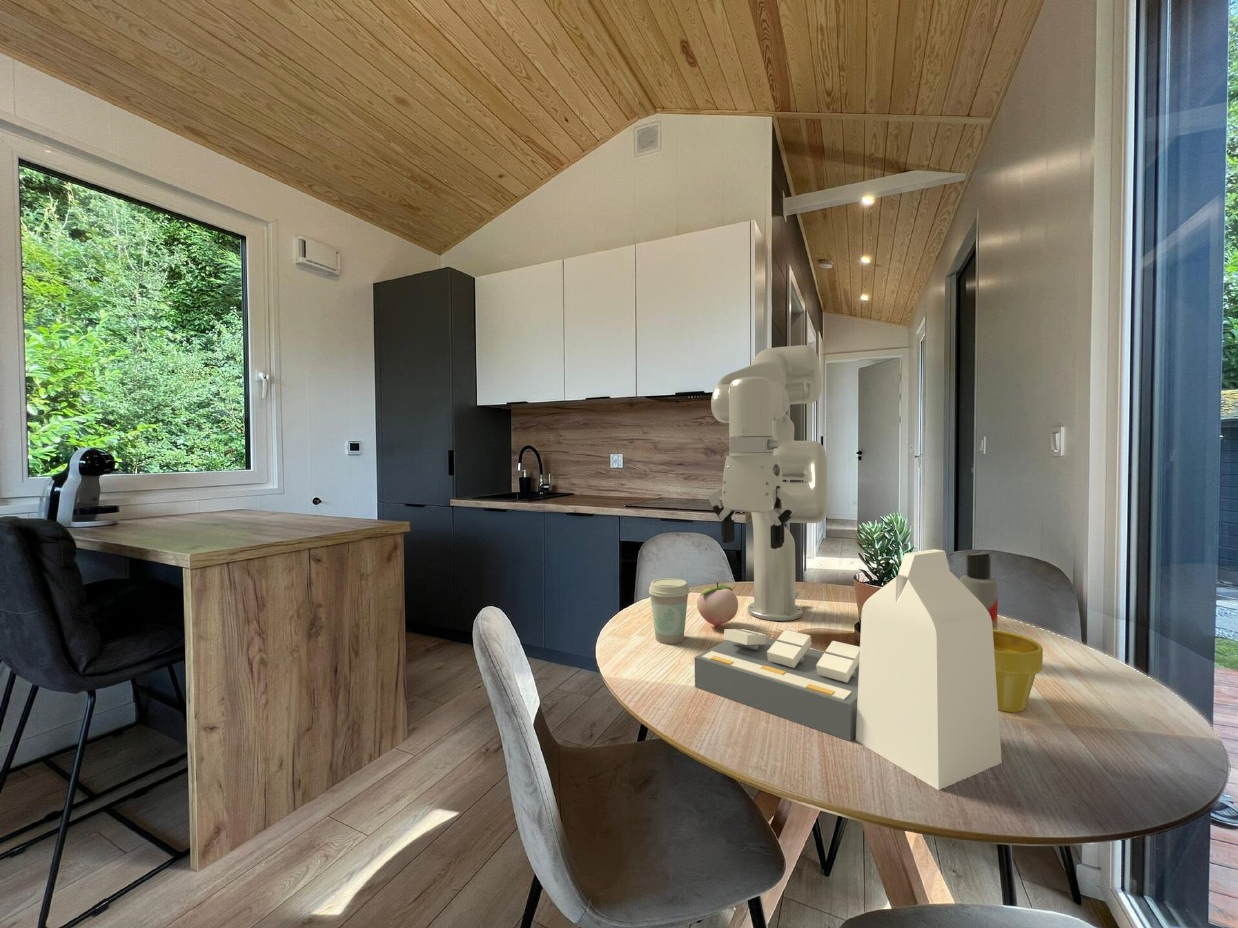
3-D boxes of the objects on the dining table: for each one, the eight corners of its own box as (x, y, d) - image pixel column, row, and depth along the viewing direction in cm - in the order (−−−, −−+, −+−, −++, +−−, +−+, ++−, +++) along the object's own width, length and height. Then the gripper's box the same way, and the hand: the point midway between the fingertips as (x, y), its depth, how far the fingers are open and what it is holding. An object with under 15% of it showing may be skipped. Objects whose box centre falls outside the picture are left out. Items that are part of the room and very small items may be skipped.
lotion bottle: (992, 668, 92) (992, 556, 91) (955, 659, 96) (955, 552, 96) (1001, 660, 95) (1001, 552, 95) (965, 651, 100) (965, 548, 99)
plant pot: (1057, 723, 73) (1057, 655, 73) (972, 714, 76) (972, 648, 76) (1023, 691, 83) (1023, 630, 83) (950, 683, 86) (950, 625, 86)
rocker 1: (743, 638, 94) (744, 628, 94) (765, 644, 91) (766, 633, 91) (723, 638, 89) (724, 628, 89) (746, 644, 86) (747, 633, 86)
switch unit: (742, 657, 98) (742, 625, 98) (885, 698, 82) (885, 659, 81) (694, 686, 87) (694, 650, 87) (849, 741, 70) (849, 696, 70)
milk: (938, 790, 60) (937, 565, 59) (855, 740, 70) (854, 549, 70) (1001, 762, 65) (1001, 555, 64) (915, 719, 75) (914, 541, 74)
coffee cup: (641, 639, 109) (640, 583, 108) (666, 629, 115) (665, 575, 115) (673, 650, 103) (673, 590, 103) (698, 638, 109) (697, 581, 109)
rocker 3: (833, 649, 83) (832, 639, 83) (862, 656, 80) (861, 646, 80) (817, 674, 79) (815, 664, 78) (847, 682, 76) (846, 672, 75)
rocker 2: (786, 637, 89) (784, 628, 88) (811, 643, 86) (810, 634, 86) (768, 660, 84) (766, 650, 84) (794, 667, 81) (792, 657, 81)
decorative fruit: (721, 637, 110) (720, 590, 109) (691, 627, 116) (690, 583, 116) (747, 626, 116) (746, 582, 116) (717, 618, 122) (716, 575, 122)
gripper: (807, 447, 89) (808, 547, 89) (719, 449, 100) (720, 537, 101) (788, 446, 83) (789, 553, 83) (698, 448, 95) (698, 542, 95)
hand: (751, 544), depth 92 cm, fingers open, 9 cm apart
